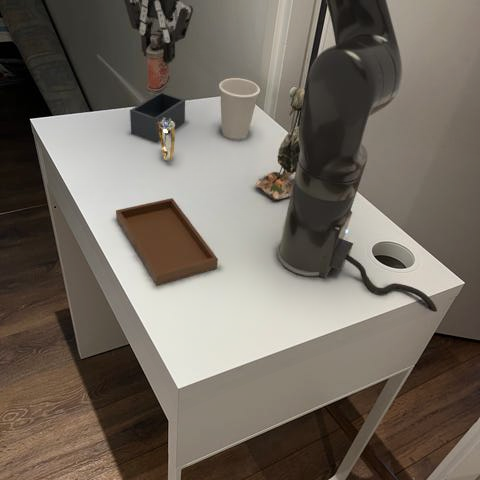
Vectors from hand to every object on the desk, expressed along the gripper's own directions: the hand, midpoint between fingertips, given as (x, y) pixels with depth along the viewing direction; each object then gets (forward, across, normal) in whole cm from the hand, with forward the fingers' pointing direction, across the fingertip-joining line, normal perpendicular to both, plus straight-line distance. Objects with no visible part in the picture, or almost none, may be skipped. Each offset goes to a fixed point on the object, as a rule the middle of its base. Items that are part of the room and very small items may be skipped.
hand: (158, 58), depth 96 cm
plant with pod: (+15, +31, -4) cm, 34 cm away
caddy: (+14, 0, 0) cm, 14 cm away
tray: (+14, +22, -31) cm, 41 cm away
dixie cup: (+14, +14, +9) cm, 22 cm away
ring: (+14, +8, -10) cm, 19 cm away
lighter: (+5, 0, 0) cm, 5 cm away
